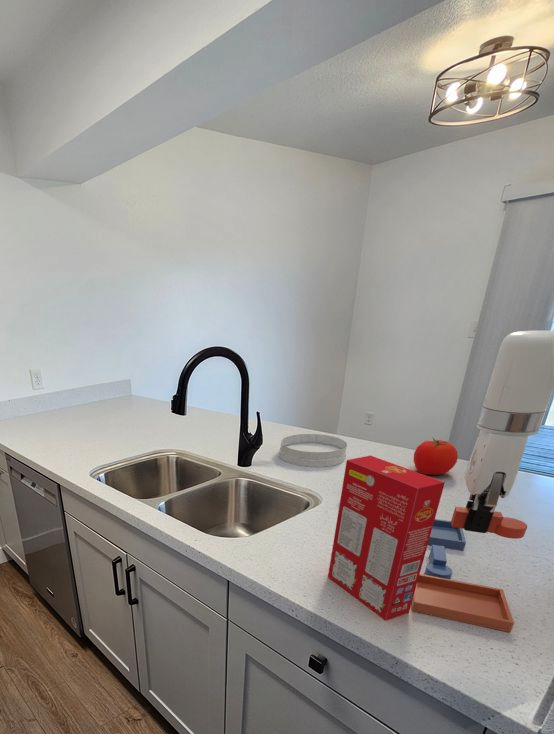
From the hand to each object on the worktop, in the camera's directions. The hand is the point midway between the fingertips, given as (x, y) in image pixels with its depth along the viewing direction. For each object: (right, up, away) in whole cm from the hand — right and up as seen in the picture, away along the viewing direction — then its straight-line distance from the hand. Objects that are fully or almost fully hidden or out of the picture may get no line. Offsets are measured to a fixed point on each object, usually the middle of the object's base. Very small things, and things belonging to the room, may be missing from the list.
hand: (473, 526), depth 74 cm
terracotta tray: (0, -14, +5) cm, 15 cm away
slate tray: (+9, -2, +27) cm, 29 cm away
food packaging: (-14, -13, +9) cm, 21 cm away
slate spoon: (+3, -9, +15) cm, 18 cm away
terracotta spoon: (+2, 0, -1) cm, 2 cm away
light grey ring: (+2, +24, +80) cm, 84 cm away
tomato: (+32, +16, +61) cm, 70 cm away
